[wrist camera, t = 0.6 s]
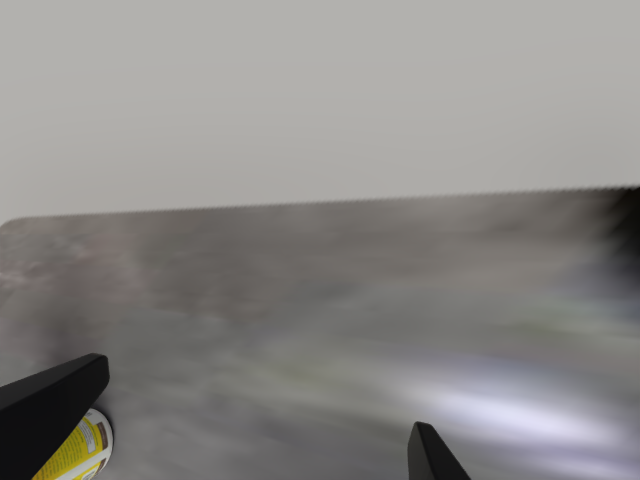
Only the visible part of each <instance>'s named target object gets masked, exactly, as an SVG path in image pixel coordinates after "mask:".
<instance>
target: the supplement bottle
mask: <svg viewBox="0 0 640 480" xmlns="http://www.w3.org/2000/svg"><path fill="white" fill-rule="evenodd" d="M112 446H113V436H112V430H111V427H110V425H109V422H108V421H107V419H106V418H105V416H104V415H103V414H101V413H100V412H99V411H97V410H95V409H91V408H90V409H89V411H88V412H87V413H86V415H85V416H84V417H83V419H82V420H81V421H80V422H79V424H78V425H77V426H76V428H75V429H74V430H73V432H72V433H71V434H70V436H69V437H68V438H67V439H66V441H65V442H64V443H63V444H62V445H61V446H60V448H59V449H58V450H57V451H56V452H55V453H54V455H53V456H52V457H51V458H50V459H49V460H48V461H47V462H46V464H45V465H44V466H43V467H42V468H41V469H40V470H39V472H38V473H37V474H36V475H35V476H34V477H33V478H32V480H89V479H91V478H92V477H94V476H95V475H97V474H98V473H99V472H100V471H101V470H102V469H103V468H104V467H105V465H106V464H107V462H108V460H109V458H110V455H111V452H112Z"/></svg>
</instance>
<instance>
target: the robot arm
mask: <svg viewBox="0 0 640 480" xmlns="http://www.w3.org/2000/svg"><path fill="white" fill-rule="evenodd" d="M109 379H110V375H109V365H108V358H107V357H106V356H105V355H101V354H96V353H91V354H88V355H85V356H82V357H80V358H77V359H74V360H72V361H69V362H66V363H64V364H61V365H58V366H56V367H53V368H50V369H48V370H45V371H42V372H40V373H37V374H34V375H32V376H29V377H26V378H24V379H21V380H18V381H16V382H13V383H10V384H7V385H5V386H2V387H0V480H32V478H33V477H34V476H35V475H36V474H37V473H38V472H39V470H40V469H41V468H42V467H43V466H44V465H45V464H46V462H47V461H48V460H49V459H50V458H51V457H52V456H53V455H54V453H55V452H56V451H57V450H58V449H59V448H60V446H61V445H62V444H63V443H64V442H65V441H66V439H67V438H68V437H69V436H70V434H71V433H72V432H73V430H74V429H75V428H76V426H77V425H78V424H79V422H80V421H81V420H82V419H83V417H84V416H85V415H86V413H87V412H88V411H89V409H90V408H91V407H92V405H93V404H94V403H95V401H96V400H97V399H98V397H99V396H100V395H101V393H102V392H103V391H104V389H105V388H106V386H107V385H108V382H109ZM408 468H409V480H471V478H470V477H469V476H468V474H467V473H466V471H465V470H464V469H463V467H462V466H461V465H460V463H459V462H458V460H457V459H456V458H455V456H454V455H453V454H452V452H451V451H450V449H449V448H448V447H447V445H446V444H445V443H444V441H443V440H442V438H441V437H440V436H439V434H438V433H437V432H436V430H435V429H434V427H433V426H432V425H430V424H428V423H423V422H418V421H417V422H415V423H414V426H413V429H412V432H411V436H410V439H409V443H408Z"/></svg>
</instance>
